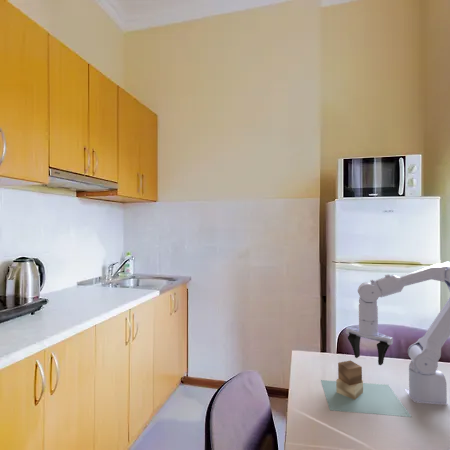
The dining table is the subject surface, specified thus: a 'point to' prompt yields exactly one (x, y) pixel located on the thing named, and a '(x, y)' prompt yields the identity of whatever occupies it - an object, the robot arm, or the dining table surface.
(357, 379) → the walnut cube
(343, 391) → the maple block
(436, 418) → the dining table surface
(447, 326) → the robot arm
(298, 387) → the dining table surface
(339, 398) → the mat
